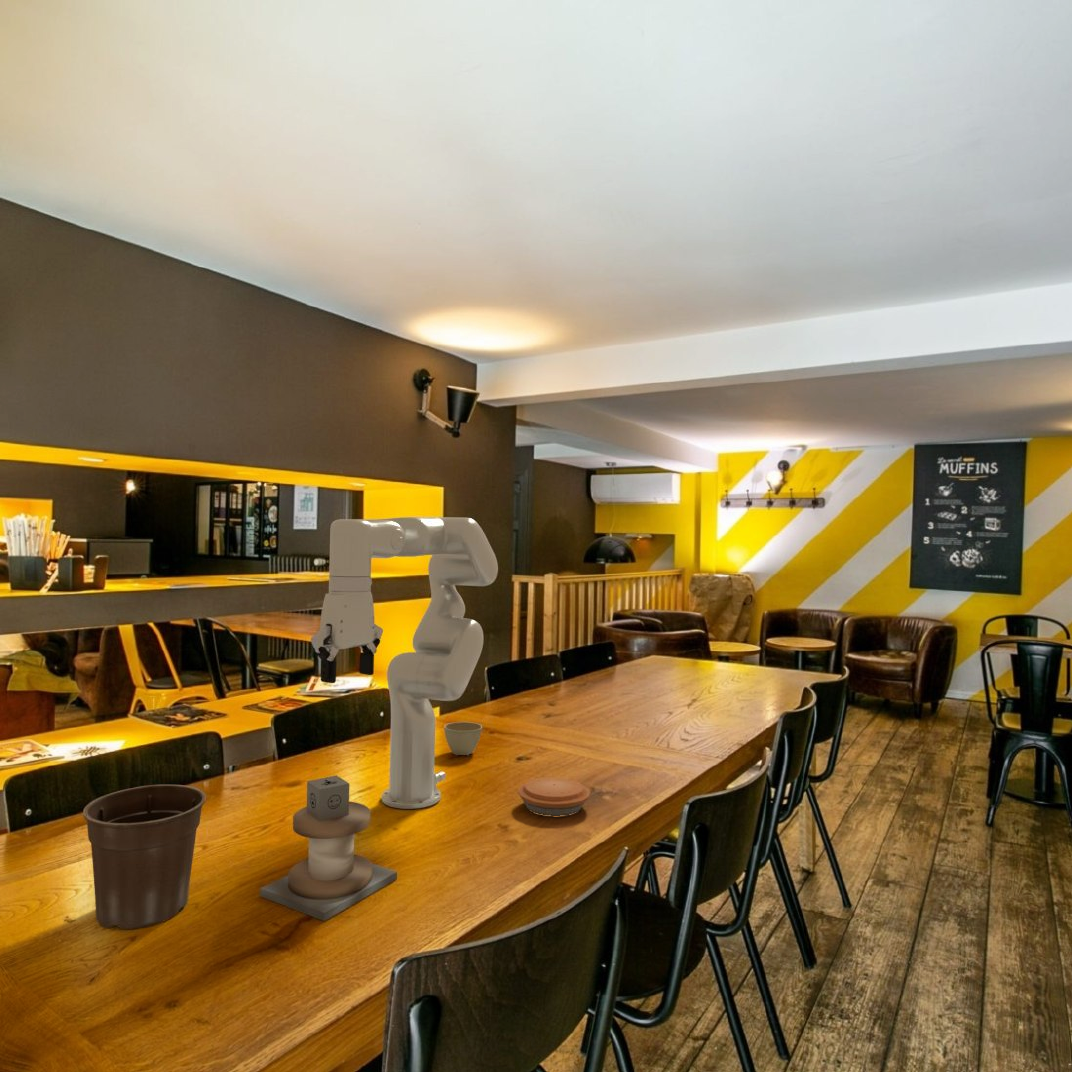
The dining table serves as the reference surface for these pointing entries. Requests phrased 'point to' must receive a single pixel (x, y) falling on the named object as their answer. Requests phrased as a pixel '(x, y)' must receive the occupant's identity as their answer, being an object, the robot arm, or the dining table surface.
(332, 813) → the dice cube
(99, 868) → the plant pot
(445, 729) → the flower pot
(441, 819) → the dining table surface
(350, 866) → the bobbin
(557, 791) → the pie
